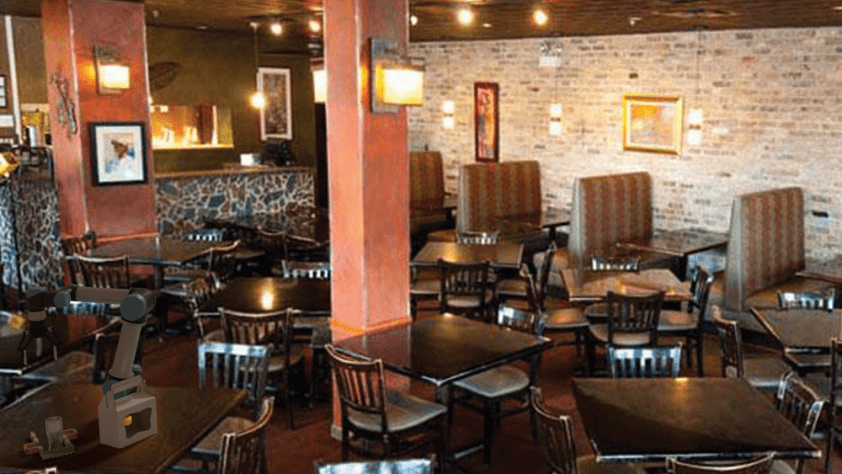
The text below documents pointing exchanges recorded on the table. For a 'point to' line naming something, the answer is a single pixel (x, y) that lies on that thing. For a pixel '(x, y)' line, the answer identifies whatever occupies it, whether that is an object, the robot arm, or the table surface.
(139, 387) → the gable box
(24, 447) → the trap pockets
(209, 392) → the table surface
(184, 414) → the table surface
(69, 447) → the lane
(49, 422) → the beer glass
